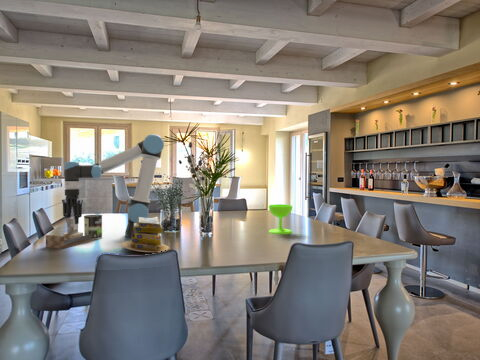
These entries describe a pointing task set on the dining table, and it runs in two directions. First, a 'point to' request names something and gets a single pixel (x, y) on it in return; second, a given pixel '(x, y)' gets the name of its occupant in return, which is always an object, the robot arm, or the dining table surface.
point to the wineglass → (280, 217)
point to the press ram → (71, 230)
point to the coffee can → (93, 226)
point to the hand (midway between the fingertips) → (72, 229)
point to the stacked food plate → (146, 236)
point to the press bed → (66, 241)
